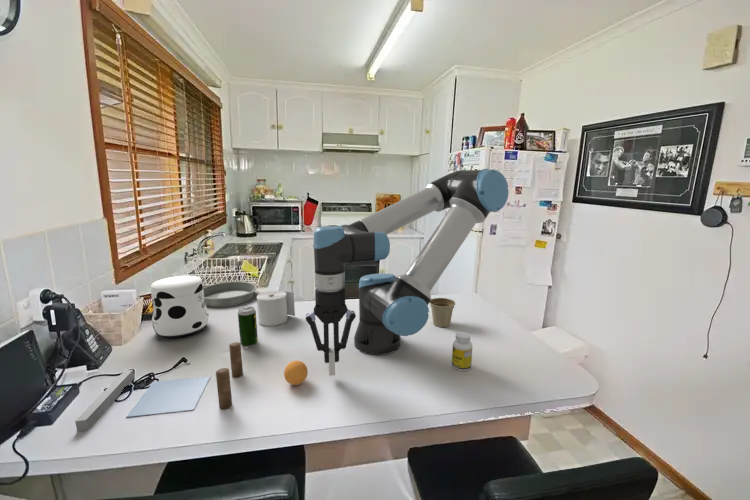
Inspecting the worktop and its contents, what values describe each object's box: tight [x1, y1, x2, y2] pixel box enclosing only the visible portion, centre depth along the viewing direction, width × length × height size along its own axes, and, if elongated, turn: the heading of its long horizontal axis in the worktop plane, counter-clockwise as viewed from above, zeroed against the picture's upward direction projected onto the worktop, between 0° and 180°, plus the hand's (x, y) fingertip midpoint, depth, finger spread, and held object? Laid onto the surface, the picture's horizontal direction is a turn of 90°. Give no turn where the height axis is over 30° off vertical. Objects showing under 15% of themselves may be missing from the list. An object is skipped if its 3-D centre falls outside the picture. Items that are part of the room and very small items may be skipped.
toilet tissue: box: [256, 290, 296, 327], centre depth 130 cm, size 11×12×10 cm
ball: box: [283, 360, 309, 386], centre depth 90 cm, size 6×6×6 cm
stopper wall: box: [74, 369, 135, 432], centre depth 83 cm, size 2×20×2 cm, turn 10°
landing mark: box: [125, 376, 211, 418], centre depth 85 cm, size 14×14×1 cm
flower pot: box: [429, 297, 456, 328], centre depth 126 cm, size 9×9×9 cm
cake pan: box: [203, 281, 257, 308], centre depth 155 cm, size 25×25×4 cm
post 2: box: [228, 341, 244, 379], centre depth 93 cm, size 3×3×9 cm
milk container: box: [150, 275, 210, 338], centre depth 120 cm, size 17×17×18 cm
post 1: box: [215, 367, 233, 411], centre depth 80 cm, size 3×3×9 cm
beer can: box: [237, 305, 259, 348], centre depth 111 cm, size 5×5×12 cm
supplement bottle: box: [451, 331, 473, 372], centre depth 97 cm, size 5×5×10 cm
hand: (332, 372), depth 92 cm, fingers closed
